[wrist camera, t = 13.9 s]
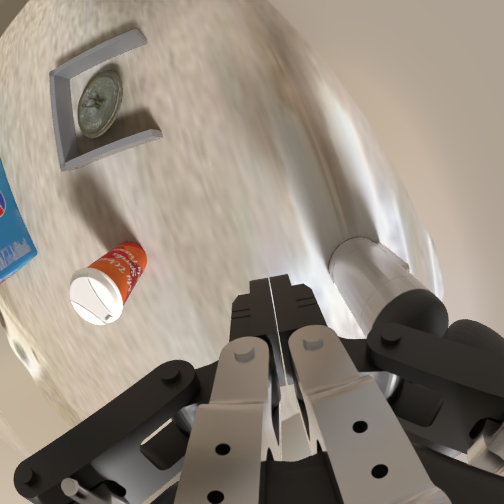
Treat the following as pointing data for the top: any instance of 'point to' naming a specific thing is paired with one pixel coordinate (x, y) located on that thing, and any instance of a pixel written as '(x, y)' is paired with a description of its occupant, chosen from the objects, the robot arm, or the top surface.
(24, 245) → the soda box
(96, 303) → the paper cup
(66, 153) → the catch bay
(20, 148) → the top surface
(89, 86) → the lid
